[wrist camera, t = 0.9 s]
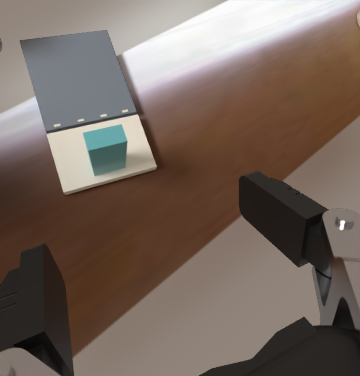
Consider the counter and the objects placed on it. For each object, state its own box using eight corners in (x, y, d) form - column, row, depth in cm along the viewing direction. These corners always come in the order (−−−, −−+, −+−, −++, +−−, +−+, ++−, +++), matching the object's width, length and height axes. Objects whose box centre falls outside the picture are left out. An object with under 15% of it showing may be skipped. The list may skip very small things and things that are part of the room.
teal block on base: (65, 195, 35) (48, 170, 26) (48, 138, 36) (27, 97, 27) (155, 169, 38) (167, 140, 29) (137, 118, 40) (142, 77, 31)
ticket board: (48, 135, 36) (45, 130, 35) (22, 47, 39) (19, 39, 38) (136, 116, 40) (136, 111, 39) (107, 36, 42) (106, 29, 41)
